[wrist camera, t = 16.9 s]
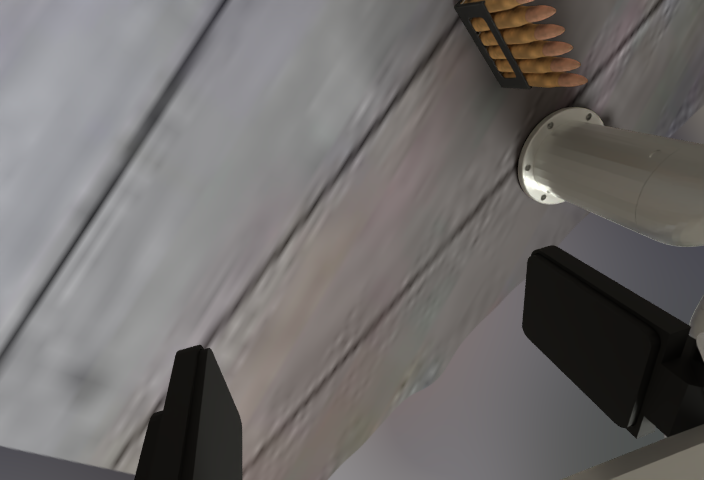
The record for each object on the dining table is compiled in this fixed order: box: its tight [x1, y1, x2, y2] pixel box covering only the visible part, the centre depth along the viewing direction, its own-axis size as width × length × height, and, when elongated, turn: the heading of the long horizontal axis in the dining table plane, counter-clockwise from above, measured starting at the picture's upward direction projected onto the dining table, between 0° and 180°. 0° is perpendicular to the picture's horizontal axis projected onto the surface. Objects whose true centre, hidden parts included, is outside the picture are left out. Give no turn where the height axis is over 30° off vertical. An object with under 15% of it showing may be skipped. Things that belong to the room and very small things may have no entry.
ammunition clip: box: [455, 0, 588, 89], centre depth 36 cm, size 11×2×12 cm, turn 42°
